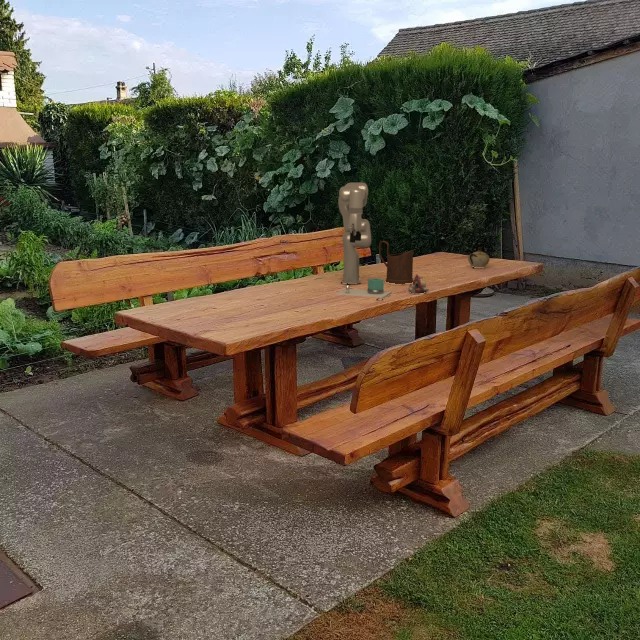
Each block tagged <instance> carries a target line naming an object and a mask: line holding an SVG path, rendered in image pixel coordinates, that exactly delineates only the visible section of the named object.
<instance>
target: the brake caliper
mask: <svg viewBox="0 0 640 640" xmlns="http://www.w3.org/2000/svg"><path fill="white" fill-rule="evenodd" d="M407 289H408V292H411V293H424V292H426V293H427V292H429V290H430V288H429V287H427V284H426V281H425V280H424V279H423V276H421V275H419V274H418V273H416V274H415V277H414V278H413V284H410V285H408V288H407ZM411 293H410V294H411Z"/></svg>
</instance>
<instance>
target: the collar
mask: <svg viewBox="0 0 640 640" xmlns="http://www.w3.org/2000/svg"><path fill="white" fill-rule="evenodd" d="M384 284H385V281H384V279H382V278H379V277H377V278H376V277H375V278H368V279H367V290H368V289H370V290H373V291H374V290H383V289H384Z"/></svg>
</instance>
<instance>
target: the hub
mask: <svg viewBox="0 0 640 640" xmlns="http://www.w3.org/2000/svg"><path fill="white" fill-rule="evenodd" d="M366 290H367V293H369V294H383V293H384V291H385V290H384V288H383V290H374V291H373V290H370V289H368V288H367V289H366Z"/></svg>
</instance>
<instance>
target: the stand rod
mask: <svg viewBox="0 0 640 640" xmlns="http://www.w3.org/2000/svg"><path fill="white" fill-rule="evenodd" d="M345 289H346V293H347V294H348V293H349V289H350V285H347V284H345Z"/></svg>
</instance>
